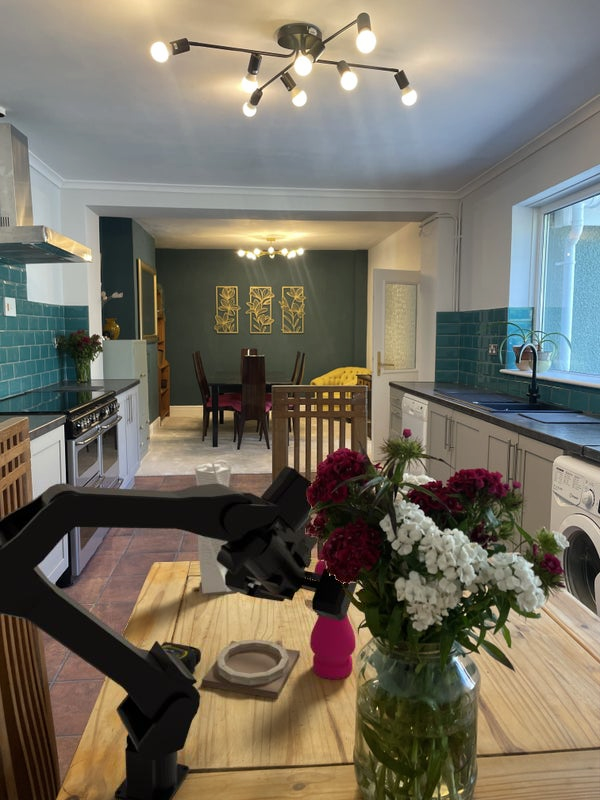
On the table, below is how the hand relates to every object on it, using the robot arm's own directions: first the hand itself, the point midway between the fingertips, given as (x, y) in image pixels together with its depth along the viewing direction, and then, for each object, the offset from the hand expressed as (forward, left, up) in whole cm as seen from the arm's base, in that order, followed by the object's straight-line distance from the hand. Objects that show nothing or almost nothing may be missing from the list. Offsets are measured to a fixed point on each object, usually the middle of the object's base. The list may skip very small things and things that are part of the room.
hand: (310, 605), depth 87 cm
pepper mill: (+7, -2, -14) cm, 15 cm away
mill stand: (+3, +10, -13) cm, 17 cm away
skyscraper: (+30, +28, -14) cm, 43 cm away
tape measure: (0, +22, -14) cm, 26 cm away
